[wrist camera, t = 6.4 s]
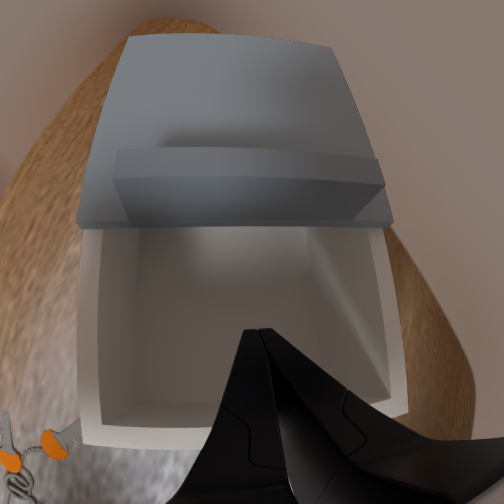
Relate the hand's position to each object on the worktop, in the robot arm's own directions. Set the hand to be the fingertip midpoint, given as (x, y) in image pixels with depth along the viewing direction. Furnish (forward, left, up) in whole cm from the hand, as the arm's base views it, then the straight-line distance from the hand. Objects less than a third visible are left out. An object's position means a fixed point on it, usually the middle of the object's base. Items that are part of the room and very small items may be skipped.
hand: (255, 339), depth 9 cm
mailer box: (+2, -2, -9) cm, 10 cm away
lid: (+7, -7, -1) cm, 10 cm away
